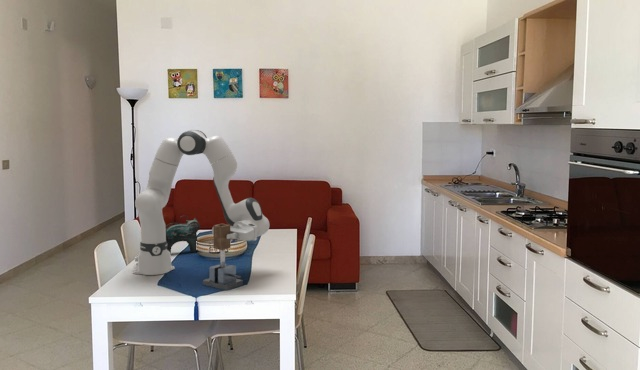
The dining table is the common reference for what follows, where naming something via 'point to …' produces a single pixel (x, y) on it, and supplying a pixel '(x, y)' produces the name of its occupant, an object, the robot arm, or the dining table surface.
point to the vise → (223, 275)
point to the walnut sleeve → (221, 236)
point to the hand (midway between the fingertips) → (220, 235)
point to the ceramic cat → (183, 234)
